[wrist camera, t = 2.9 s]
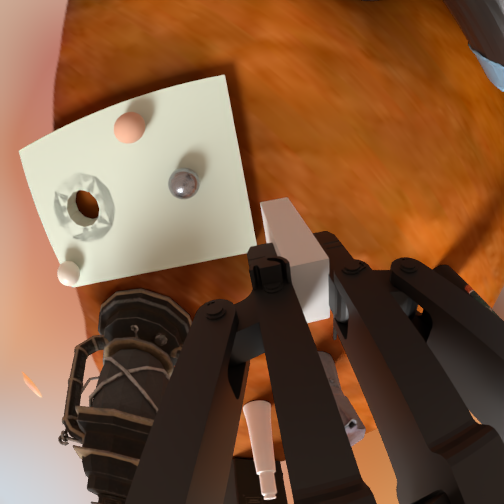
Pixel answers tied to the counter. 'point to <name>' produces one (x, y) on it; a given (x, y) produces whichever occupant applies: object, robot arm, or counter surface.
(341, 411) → the moka pot
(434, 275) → the robot arm
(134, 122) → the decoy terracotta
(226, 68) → the counter surface
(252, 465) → the black rectangular block
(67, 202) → the board
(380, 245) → the counter surface
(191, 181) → the steel ball
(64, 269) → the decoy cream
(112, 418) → the lantern
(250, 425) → the cosmetic bottle
